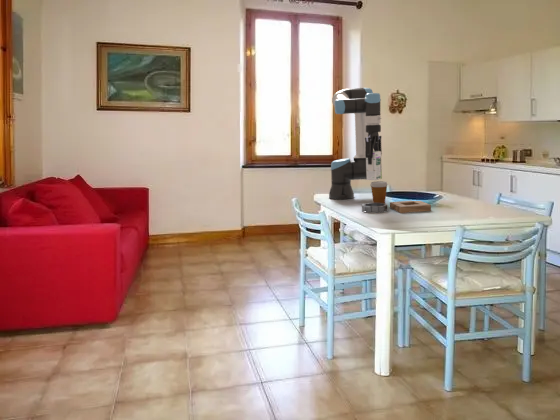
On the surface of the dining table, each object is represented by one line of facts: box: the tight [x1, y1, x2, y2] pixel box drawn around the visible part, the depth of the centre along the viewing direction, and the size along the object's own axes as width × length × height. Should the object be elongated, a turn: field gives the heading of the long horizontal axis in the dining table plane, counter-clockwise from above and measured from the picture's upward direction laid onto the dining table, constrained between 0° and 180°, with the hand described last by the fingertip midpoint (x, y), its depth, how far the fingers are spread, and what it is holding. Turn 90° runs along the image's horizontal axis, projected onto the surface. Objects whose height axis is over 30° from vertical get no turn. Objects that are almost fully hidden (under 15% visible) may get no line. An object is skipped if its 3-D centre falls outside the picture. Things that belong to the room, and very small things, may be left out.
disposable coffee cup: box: [370, 180, 389, 203], centre depth 285 cm, size 10×10×12 cm
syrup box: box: [366, 150, 383, 181], centre depth 263 cm, size 6×6×14 cm
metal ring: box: [361, 202, 388, 213], centre depth 267 cm, size 13×13×3 cm
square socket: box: [389, 200, 432, 214], centre depth 265 cm, size 16×16×3 cm
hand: (373, 169), depth 263 cm, fingers closed on syrup box, 6 cm apart
